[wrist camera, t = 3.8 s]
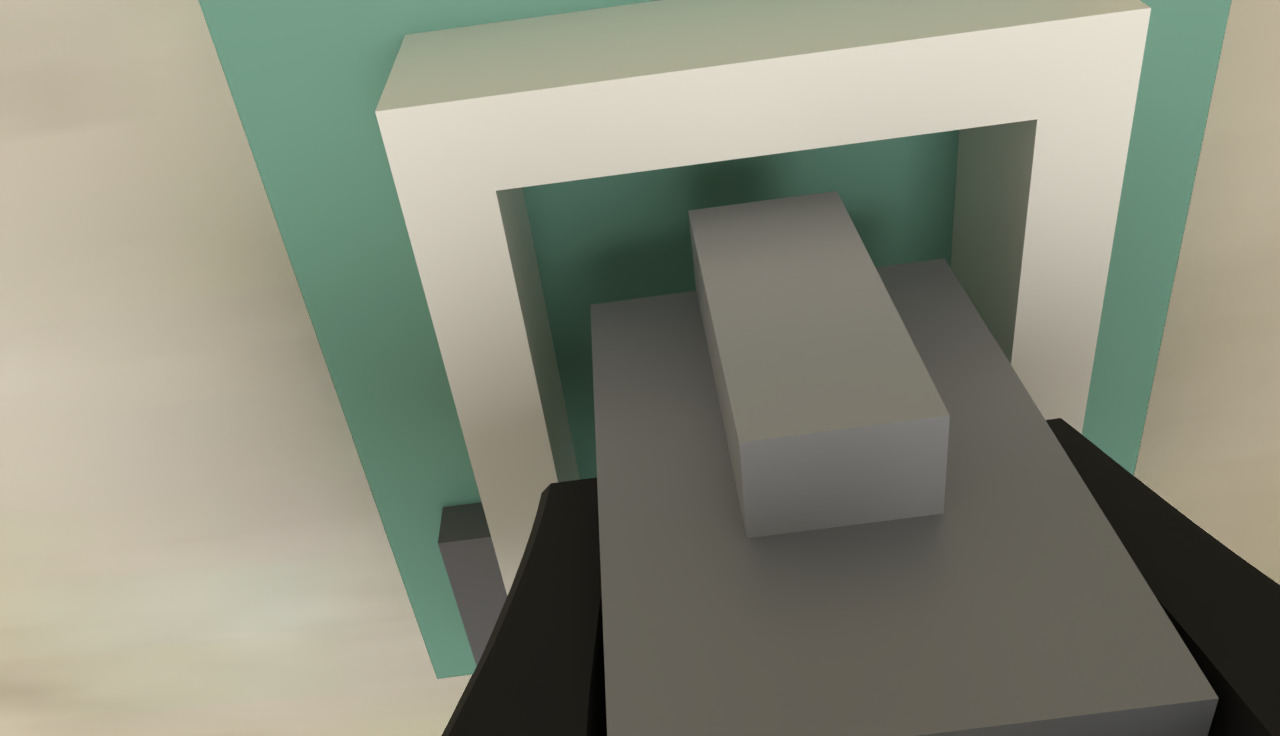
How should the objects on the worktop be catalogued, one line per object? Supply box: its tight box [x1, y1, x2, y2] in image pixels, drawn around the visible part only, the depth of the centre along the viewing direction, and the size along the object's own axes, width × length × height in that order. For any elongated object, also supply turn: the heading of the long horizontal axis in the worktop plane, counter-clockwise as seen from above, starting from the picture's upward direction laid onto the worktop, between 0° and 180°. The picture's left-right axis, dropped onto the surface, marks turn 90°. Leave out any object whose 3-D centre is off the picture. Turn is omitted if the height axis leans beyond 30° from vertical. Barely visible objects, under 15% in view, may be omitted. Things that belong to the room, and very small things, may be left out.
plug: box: [590, 191, 1219, 736], centre depth 10 cm, size 5×4×6 cm
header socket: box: [375, 0, 1151, 596], centre depth 14 cm, size 9×8×2 cm
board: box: [199, 0, 1231, 679], centre depth 15 cm, size 14×12×2 cm
